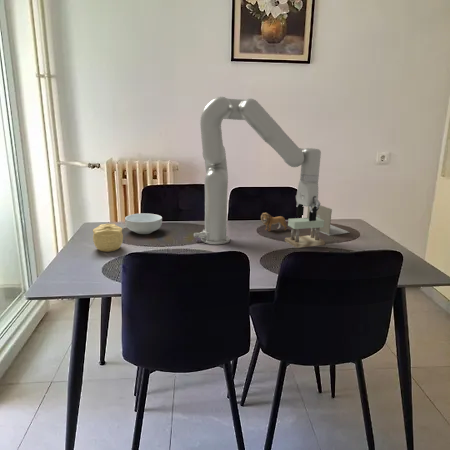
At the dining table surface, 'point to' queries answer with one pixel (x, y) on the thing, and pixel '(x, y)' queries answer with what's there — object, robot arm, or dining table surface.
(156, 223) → the cereal bowl
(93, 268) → the dining table surface
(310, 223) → the pale green block
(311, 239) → the peg stand
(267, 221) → the lion figurine
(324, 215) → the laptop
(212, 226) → the robot arm
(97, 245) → the sculpture
